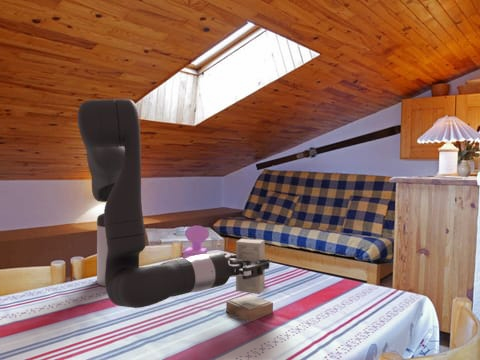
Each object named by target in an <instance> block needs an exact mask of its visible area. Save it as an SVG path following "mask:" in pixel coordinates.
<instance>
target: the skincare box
mask: <svg viewBox="0 0 480 360" xmlns="http://www.w3.org/2000/svg"><path fill="white" fill-rule="evenodd" d="M265 241H266V240H265V239H252V238H240V239H238V240H236V242H235V255H236V259H248V260H249V261H259V260H264V259H266V258H265V257H266V256H265V252H266V251H265V250H266V248H265V247H266V246H265V244H266V242H265ZM251 265H253V264H251ZM244 266H246V263H243V267H244ZM265 270H266V269H265ZM265 270H263V275H260V276H257V277H253V278H249V279H243V275H242V276H237V277H235V291H236V292H239V293H249V294H257V295H261V293H263V291H264V290H265V276H266V275H265V273H266V271H265Z"/></svg>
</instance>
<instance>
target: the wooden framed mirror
mask: <svg viewBox="0 0 480 360" xmlns="http://www.w3.org/2000/svg"><path fill="white" fill-rule="evenodd" d="M225 306H226V308H225V311H226V312H227V313H228V314H232V315H234V316H236V317H238V318H240V319H242V320H245V321H247V322H249V323H250V322H253V321H256V320H259V319H261V318H264V317H266V316H269V315H271V314H273V313H274V302H273V301H269V300H267V299H265V298H262V297H259V296H256V295H254V294H253V293H249V294H245V295H243V296H238V297H235V298H233V299H230V300H227V301H226V305H225Z"/></svg>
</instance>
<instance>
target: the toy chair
mask: <svg viewBox="0 0 480 360" xmlns="http://www.w3.org/2000/svg"><path fill="white" fill-rule="evenodd" d="M184 236H185V237H186V239H187V241H189V242H191V243H192V247H187V248H186V249H185V250H183V251H182V259H184V258H187V257H190V256H194V255H200V254H205V253H208V252H207V250H208V249H207V248H206V247H205V248H204V247H202V243H204V242H205V241H206V240H207V239H208V238H209V236H210V232H209V230H208V229H207V228H206V227H204V226H202V225H193V226H190V227H188V228H186V229H185V230H184Z"/></svg>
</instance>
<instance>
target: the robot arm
mask: <svg viewBox="0 0 480 360" xmlns="http://www.w3.org/2000/svg"><path fill="white" fill-rule="evenodd" d="M77 125H78V131H79V133H80V138H81V140H82V143H83V145H84V147H85V151H86V159H87V162H86V163H87V167H88V169H89V173H90V176H91V177H90V178H91V192H92V196H93V198H94V199H95V200H96V201H97V202H101V203H105V205H104V210H103V211H104V212H103V213H101V214H99V215H98V216H97V219H96V222H97V223H96V225H97V226H96V230H97V231H96V237H97V238H96V256H97V257H96V258H97V259H96V284H97V285H99V286H103V287H105V291H106V295H107V297H108V298H109V300H110V301H111V302H112V303H113V304H114V305H116V306H119V307H122V308H123V307H124V308H132V309H139V308H145V307H150V306H153V305H155V304H159V303H161V302H162V301H165V300H167V299H169V298H173V297H177V296H181V295H186V294H190V293H198V292H202V291H207V290H210V289H214V288H217V287H222V286H224V285H226V284H227V283H228V281H229V280H230V278H236V277H237V276H242V275H243V279H249V278H253V277H257V276H260V275H263V270H269V269H270V263H271V261H270V259H268V258H265V259H264V260H259V261H249V260H248V259H236V254H233V253H230V254H228V253H226V252H220V251H213V252H207V253H205V254H200V255H194V256H190V257H187V258H184V259H183V258H180V259H178V258H177V259H174V260H170V261H165V262H162V263H160V264H154V265H150V266H149V265H148V266H140V253H141V252H143V250H144V249H145V248H146V243H147V238H146V231H145V222H144V214H143V207H142V206H143V204H142V150H141V149H142V148H141V147H142V146H141V144H142V143H141V142H142V141H141V126H140V125H141V124H140V116H139V112H138V108H137V105H136V104H135V102H134V101H133V100H132V99H130V98H107V99H105V98H102V99H101V98H100V99H90V100H89V99H88V100H85V101H83V102H82V103H81V104H80V105H79V107H78V111H77ZM243 263H246V266H244V267H243ZM251 264H253V265H251Z"/></svg>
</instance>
